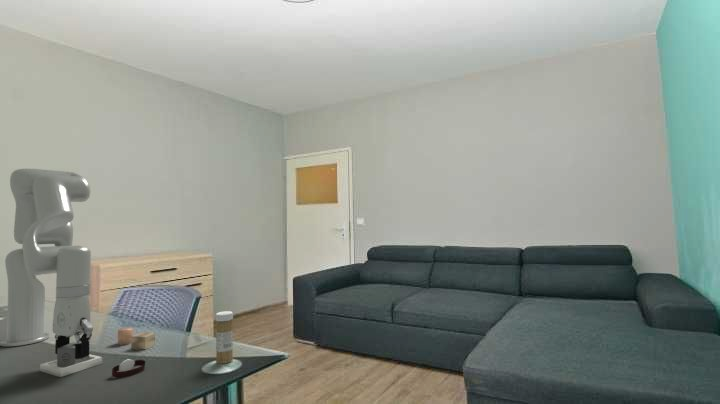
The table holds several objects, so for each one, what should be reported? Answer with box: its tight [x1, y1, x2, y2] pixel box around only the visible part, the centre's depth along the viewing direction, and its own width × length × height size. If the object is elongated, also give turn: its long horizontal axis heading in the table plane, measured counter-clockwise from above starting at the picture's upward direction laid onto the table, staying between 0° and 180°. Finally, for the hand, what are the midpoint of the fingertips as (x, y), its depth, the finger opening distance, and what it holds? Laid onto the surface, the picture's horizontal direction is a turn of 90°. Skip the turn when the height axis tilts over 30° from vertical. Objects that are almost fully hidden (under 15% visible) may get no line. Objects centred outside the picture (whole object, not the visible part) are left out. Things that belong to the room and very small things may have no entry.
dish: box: [39, 353, 103, 378], centre depth 102 cm, size 10×10×2 cm
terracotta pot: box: [117, 326, 134, 346], centre depth 124 cm, size 4×4×4 cm
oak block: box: [130, 332, 156, 350], centre depth 119 cm, size 5×4×4 cm
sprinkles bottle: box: [215, 310, 234, 365], centre depth 105 cm, size 5×5×14 cm
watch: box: [111, 358, 146, 379], centre depth 98 cm, size 8×5×4 cm, turn 141°
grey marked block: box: [56, 341, 89, 367], centre depth 103 cm, size 5×5×5 cm
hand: (72, 355), depth 103 cm, fingers open, 9 cm apart
